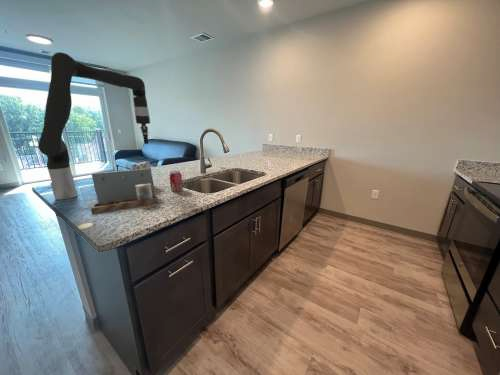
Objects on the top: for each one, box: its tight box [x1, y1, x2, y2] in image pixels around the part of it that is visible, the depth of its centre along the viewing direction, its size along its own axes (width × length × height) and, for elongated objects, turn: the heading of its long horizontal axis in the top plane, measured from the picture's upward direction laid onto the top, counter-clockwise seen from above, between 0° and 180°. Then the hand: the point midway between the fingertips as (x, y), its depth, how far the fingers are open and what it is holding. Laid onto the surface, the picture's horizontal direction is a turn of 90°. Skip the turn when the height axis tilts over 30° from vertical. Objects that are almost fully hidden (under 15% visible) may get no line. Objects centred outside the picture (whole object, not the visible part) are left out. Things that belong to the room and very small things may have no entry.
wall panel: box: [91, 169, 155, 203], centre depth 112 cm, size 27×3×16 cm, turn 117°
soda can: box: [169, 170, 184, 193], centre depth 127 cm, size 7×7×12 cm
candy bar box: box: [131, 161, 154, 185], centre depth 132 cm, size 11×5×16 cm, turn 168°
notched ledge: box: [90, 194, 158, 214], centre depth 105 cm, size 28×7×3 cm, turn 117°
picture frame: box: [135, 183, 153, 201], centre depth 108 cm, size 7×3×10 cm, turn 117°
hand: (146, 143), depth 127 cm, fingers open, 8 cm apart
